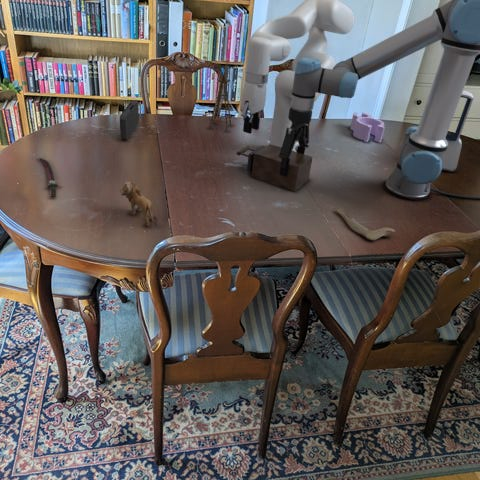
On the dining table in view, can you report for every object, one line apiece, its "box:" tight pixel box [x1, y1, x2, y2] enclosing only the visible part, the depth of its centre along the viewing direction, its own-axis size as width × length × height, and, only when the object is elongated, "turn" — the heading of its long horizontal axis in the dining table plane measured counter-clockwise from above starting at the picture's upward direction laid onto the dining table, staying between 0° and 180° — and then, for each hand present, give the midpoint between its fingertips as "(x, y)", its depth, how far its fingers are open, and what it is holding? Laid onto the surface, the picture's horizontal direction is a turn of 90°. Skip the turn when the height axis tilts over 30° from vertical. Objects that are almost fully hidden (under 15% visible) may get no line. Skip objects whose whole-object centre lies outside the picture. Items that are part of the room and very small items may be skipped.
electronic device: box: [441, 90, 474, 173], centre depth 182 cm, size 12×8×30 cm, turn 71°
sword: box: [40, 158, 59, 198], centre depth 151 cm, size 31×3×1 cm, turn 26°
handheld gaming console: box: [119, 99, 140, 141], centre depth 189 cm, size 23×3×10 cm, turn 178°
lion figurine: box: [119, 181, 159, 227], centre depth 134 cm, size 15×5×9 cm, turn 50°
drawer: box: [236, 145, 267, 174], centre depth 167 cm, size 22×11×7 cm, turn 59°
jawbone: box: [334, 207, 396, 241], centre depth 142 cm, size 9×20×2 cm, turn 50°
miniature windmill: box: [208, 56, 232, 132], centre depth 198 cm, size 9×8×30 cm
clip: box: [349, 112, 386, 143], centre depth 214 cm, size 20×12×7 cm, turn 11°
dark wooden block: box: [251, 143, 314, 192], centre depth 165 cm, size 17×12×9 cm
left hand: (250, 130), depth 165 cm, fingers open, 4 cm apart
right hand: (291, 169), depth 163 cm, fingers closed on dark wooden block, 12 cm apart
